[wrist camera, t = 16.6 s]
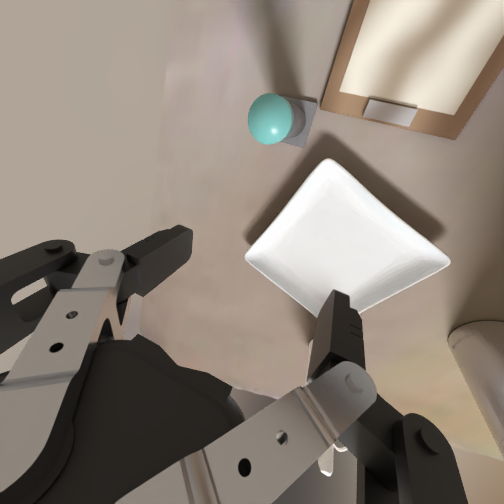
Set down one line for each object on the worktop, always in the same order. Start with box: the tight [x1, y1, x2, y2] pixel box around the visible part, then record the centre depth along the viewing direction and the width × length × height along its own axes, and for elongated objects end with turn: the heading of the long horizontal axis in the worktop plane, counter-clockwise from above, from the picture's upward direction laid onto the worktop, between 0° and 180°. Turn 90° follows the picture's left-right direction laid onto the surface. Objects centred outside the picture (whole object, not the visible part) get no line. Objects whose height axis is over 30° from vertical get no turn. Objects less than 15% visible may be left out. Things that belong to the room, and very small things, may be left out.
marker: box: [248, 93, 306, 144], centre depth 23 cm, size 4×4×11 cm
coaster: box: [278, 95, 318, 148], centre depth 28 cm, size 5×5×1 cm
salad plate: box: [245, 158, 451, 318], centre depth 34 cm, size 21×21×3 cm
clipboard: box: [320, 0, 504, 140], centre depth 21 cm, size 15×13×1 cm
